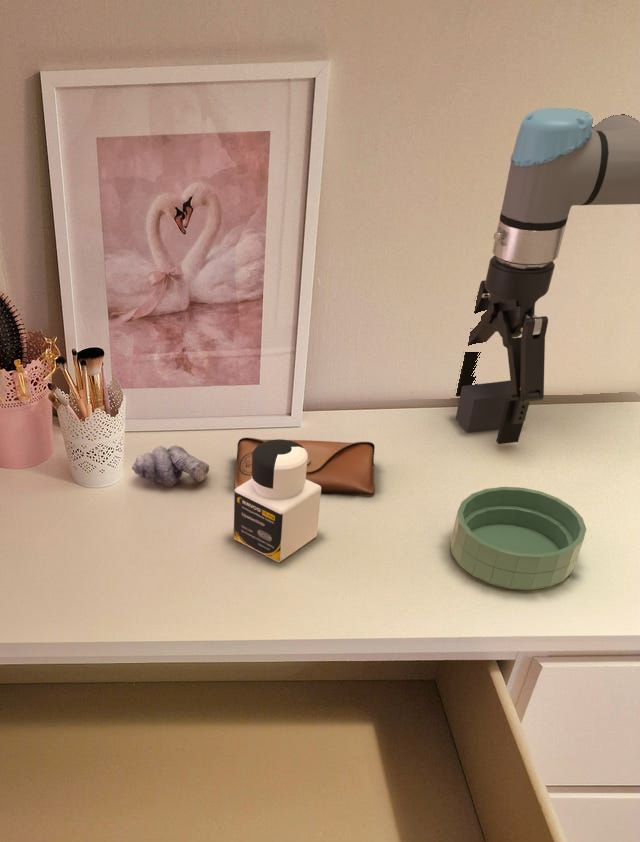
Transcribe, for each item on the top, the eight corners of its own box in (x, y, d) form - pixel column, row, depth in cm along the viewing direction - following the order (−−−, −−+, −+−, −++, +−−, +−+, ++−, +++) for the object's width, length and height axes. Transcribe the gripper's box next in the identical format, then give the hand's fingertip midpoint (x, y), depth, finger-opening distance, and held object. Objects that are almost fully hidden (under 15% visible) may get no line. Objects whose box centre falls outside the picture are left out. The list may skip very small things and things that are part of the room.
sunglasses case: (233, 490, 110) (235, 436, 108) (234, 488, 116) (237, 437, 115) (378, 494, 108) (382, 439, 106) (371, 492, 114) (375, 440, 113)
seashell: (210, 485, 114) (134, 491, 114) (207, 444, 114) (131, 450, 114) (211, 481, 109) (132, 487, 109) (208, 438, 108) (128, 444, 108)
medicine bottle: (232, 539, 103) (233, 450, 95) (271, 514, 106) (276, 425, 98) (278, 564, 99) (284, 473, 91) (317, 537, 103) (326, 447, 94)
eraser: (502, 413, 122) (510, 380, 119) (515, 427, 119) (524, 393, 116) (455, 419, 121) (461, 385, 118) (466, 433, 119) (474, 399, 115)
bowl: (538, 516, 104) (549, 480, 100) (595, 584, 94) (609, 547, 91) (432, 530, 102) (439, 494, 99) (479, 600, 93) (489, 563, 89)
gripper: (452, 228, 114) (424, 379, 128) (542, 300, 96) (498, 467, 110) (506, 223, 115) (473, 374, 129) (606, 293, 97) (554, 460, 111)
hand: (484, 417), depth 120 cm, fingers open, 13 cm apart
